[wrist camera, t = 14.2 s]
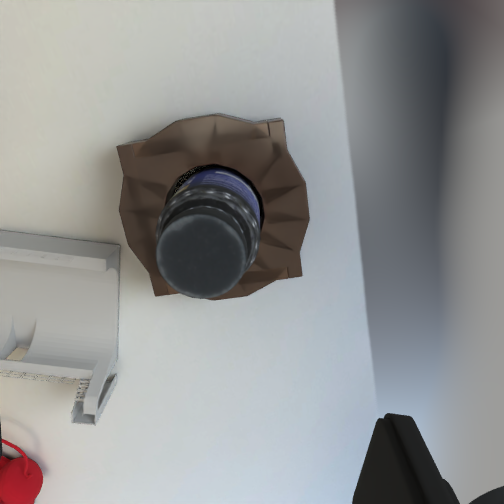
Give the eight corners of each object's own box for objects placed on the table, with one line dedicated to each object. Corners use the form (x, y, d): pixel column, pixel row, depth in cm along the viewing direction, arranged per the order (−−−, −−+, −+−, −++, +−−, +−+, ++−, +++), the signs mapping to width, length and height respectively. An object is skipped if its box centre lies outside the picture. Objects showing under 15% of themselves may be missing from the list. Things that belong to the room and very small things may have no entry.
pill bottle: (187, 155, 30) (151, 184, 20) (268, 176, 30) (275, 215, 20) (172, 233, 32) (132, 297, 22) (248, 252, 33) (245, 322, 22)
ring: (292, 101, 29) (296, 101, 26) (312, 271, 33) (317, 286, 30) (112, 130, 29) (97, 133, 27) (154, 292, 34) (145, 309, 31)
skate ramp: (120, 245, 32) (96, 270, 28) (117, 383, 37) (96, 426, 32) (-75, 220, 32) (-133, 241, 27) (-54, 364, 36) (-101, 404, 32)
